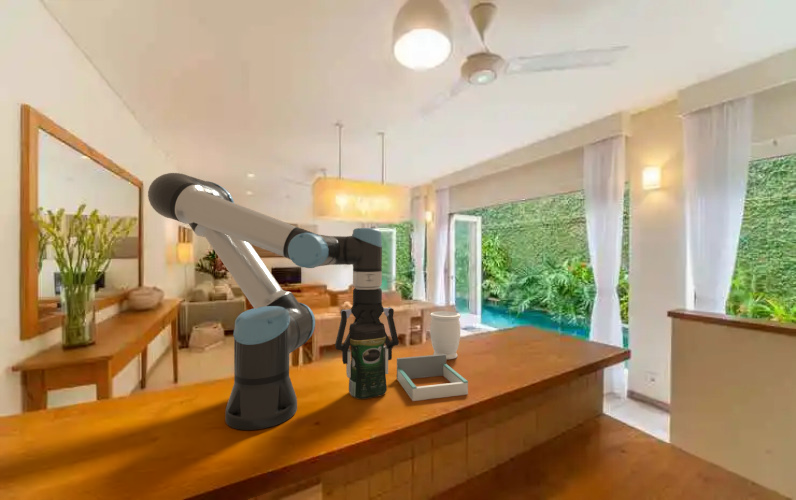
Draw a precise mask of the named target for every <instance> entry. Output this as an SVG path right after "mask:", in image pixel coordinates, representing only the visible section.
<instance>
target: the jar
mask: <svg viewBox="0 0 796 500" xmlns="http://www.w3.org/2000/svg"><path fill="white" fill-rule="evenodd" d="M429 315H430V318H431V321H430V324H429V325H430V327H429V334H430V340H431V341H430V342H431V346H432V348H433V354H432V355H440V354H445V355H446V360H455V359H456V358H457V357H458V353H457V351H458V350H459V345H460V339H461V323H460V320H459V319H460V318H461V314H460V313H459V312H454V311H433V312H431V313H430V314H429Z"/></svg>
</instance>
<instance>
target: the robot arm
mask: <svg viewBox="0 0 796 500" xmlns="http://www.w3.org/2000/svg"><path fill="white" fill-rule="evenodd" d="M147 190H148V191H147V197H148V202H149V204H150V206H151V207H152V209H153V210H154V211H155V212H156V213H157V214H159V215H161V216H162V217H165V218H167V219H170V220H175V221H178V222H180V223H183V224H187V225H188V226H189V227H190V228H191V229H192V231H193V232H194V234H195V235H196V236H197V237H202V238H205V240H207V242H208V244H209V245H210V246H211V248H212V249H213V251H214V252H215V254H216V255H217V256H218V258H219V259H220V261H221V262H222V263H223V266H224V267H225V268H226V269H227V271H228V273H229V274H230V276H231V277H232V278H233V280H234V282H235V283H236V284H237V286H238V287H239V289H240V290H241V292H242V293H243V294H244V296H245V298H246V299H247V300H248V302H249V304H250V305H251V306H252V307H253V308H251V309H248V310H245V311H243V312H241V313H240V314H239V315H238V316H237V317H236V318H235V321H234V329H233V334H232V335H233V342H234V344H233V346H234V347H233V348H234V349H233V354H234V355H233V356H234V358H233V359H234V362H233V363H234V364H233V365H234V366H233V368H234V369H233V371H234V372H233V373H234V374H233V376H234V377H233V380H234V382H233V386H232V390H231V393H230V395H229V398H228V400H227V404H226V408H225V412H224V413H225V418H224V419H225V421H224V422H225V424H226V425H227V426H229V427H230V428H233V429H235V430H241V431H252V430H254V431H255V430H263V429H268V428H271V427H274V426H278V425H280V424H283V423H284V422H286V421H288V420H290V419H291V418H292V417H293V416H295V414H296V412H297V410H298V397H297V395H296V391H295V388H294V387H293V383H292V380H291V377H290V354H292V352H294V351H295V350H297V349H298V348H301V347H302V346H303V345H305V344H306V343H307V342H308V340H309V339H311V337H312V336H313V334H314V332H315V328H316V317H315V314H314V312H313V310H312V309H311V308H310V307H309V305H307V304H305V303H302V302H299V301H298V300H297V297H296V296H295V295H294V294H293V293H292V292H291V291H288V290H284V289H283V288H282V287H281V285H280V284H279V282H278V281H277V280H276V278H275V276H274V275H273V274H272V272H271V271H270V270H269V268H268V267H267V266H266V264H265V262H264V260H263V259H262V257H260V255H259V254H258V252H257V250H256V249H255V248H254V246H255V247H257V248H260V249H263V250H265V251H268V252H271V253H273V254H276V255H278V256H281V257H283V258H285V259H288V260H290V261H291V262H293V264H294V265H296V266H298V267H300V268H305V269H314V268H317V267H324V266H337V265H338V266H341V265H347V266H350V265H352V286H353V287H354V288H353V290H352V307H351V308H349V309H344V308H343V309H341V310H340V323H339V327H338V330H337V335H336V338H335V339H336V340H335V344H334V346H335V350H338V351H341V352H342V353H341V355H342V356H341V360H342V363H343V365H346V370H345V371H346V374H345V375H346V377H347V379H349V378H351V343H350V336H351V334H349V333H348V334H347V336H346V337H345V340H344V342H343V339H344V335H345V331H346V326H347V323H348V319H349V318H350V315H351V314H352V316H353V317H354V318H355V319H354V321H353V323H354V324H355V325H361V324H367V323H369V324H374V323H376V325H381V323H382V321H381V319H380V317H381V315H382V314H383V313H384V315H385V317H386V319H387V324H388V329H389V334H390V336H391V340H390V338H389V336H388V334H387V332H386V331H385V333H386V340H385V343H384V348H383V355H384V367H385V375H389V361H391V360H392V358H393V348H394V347H395V346H399V344H400V342H399V336H398V333H397V328H396V325H395V320H394V311H395V310H394V308H392V307H391V306H389V307H384V306H383V295H382V293H383V290H382V288H381V287H382V285H383V284H382V283H383V282H382V280H383V279H382V278H383V277H382V274H383V273H382V270H383V269H382V267H383V266H382V263H383V262H382V261H383V245H382V243H383V242H382V232H381V230H380V229H378V228H373V227H361V228H360V227H359V228H354V229H353V230H352V234H351V235H347V236H346V235H345V236H341V235H339V236H337V235H336V236H334V235H325V234H319V233H315V232H312V231H310V230H306V229H304V228H302V227H301V228H300V227H299V226H296V225H292V224H291V223H288V222H285V221H282V220H279V219H277V218H275V217H272V216H269V215H267V214H263V213H261V212H258V211H256V210H253V209H251V208H248V207H246V206H244V205H240V204H237V203H235V201H234V198H233V196H232V195H231V193H230V192H229V191H228V190H227V189H226V188H225V187H223V186H221V185H220V184H217V183H215V182H213V181H208V180H204V179H200V178H196V177H193V176H190V175H187V174H183V173H180V172H168V173H164V174H161V175H160V176H158V177H155V179H154V180H153V181H152V182H151V184H150V185H149V187H148V189H147ZM342 343H343V344H342Z"/></svg>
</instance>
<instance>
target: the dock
mask: <svg viewBox="0 0 796 500" xmlns="http://www.w3.org/2000/svg"><path fill="white" fill-rule="evenodd" d="M441 376H442V377H444V378H445V379H446V380H447V381H449V383H446V382H445V383H439V384H431V385H430V384H429V385H419V386H417V385H416V384H415V383H414V382H413V381H412V380H413V379H421V378H422V379H423V378H432V377H441ZM396 380H397V381H398V382H399V384H400V385H401V387H402V389H404V391H405V392H406V394H407V395H408V397H409V398H410V400H411V401H412V402H415V401H424V400H433V399H440V398H449V397H455V396H456V397H457V396H458V397H459V396H464V395H468V394H469V381H468V380H467V379H466V378H465V377H463V375H461V374H460V373H458V372H457V371H456V370H455V369H454V368H452V367H451V366H450V365H448V364H447V359H446V355H445V354H440V355H433V354H429V355H419V356H408V357H407V356H406V357H397V358H396Z"/></svg>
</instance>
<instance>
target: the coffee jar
mask: <svg viewBox="0 0 796 500" xmlns="http://www.w3.org/2000/svg"><path fill="white" fill-rule="evenodd" d="M348 330H349V331H348V334H351V336H350V343H351V345H350V351H351V378H348V392H349V395H350V396H351V397H352V398H354V399H356V400H357V399H358V400H364V399H365V400H366V399H367V400H368V399H371V398H377V397H380V396H383V395H385V394H386V393H387V390H388V389H387V374H385V367H384V355H383V348H384V346H385V340H386V334H387V332H386V328H385V324H384V323H383V322H381V325H376V323H374V324H369V323H367V324H361V325H355V324H354V322H353V323H350V325H349V329H348ZM385 332H386V333H385Z"/></svg>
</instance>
